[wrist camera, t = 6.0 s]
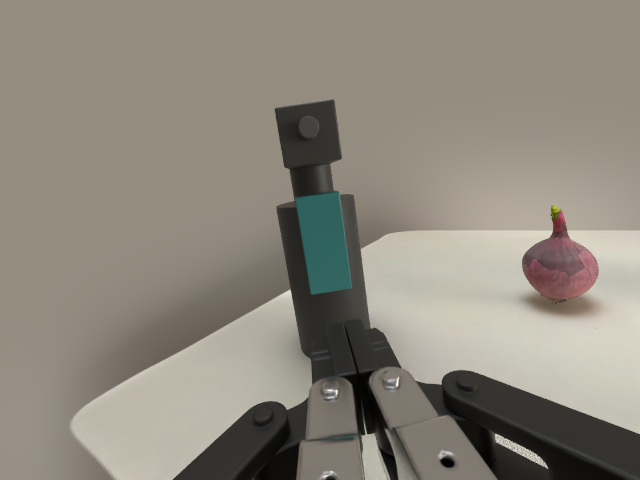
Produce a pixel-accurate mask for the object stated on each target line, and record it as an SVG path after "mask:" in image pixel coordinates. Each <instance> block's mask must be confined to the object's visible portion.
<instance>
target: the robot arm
mask: <svg viewBox="0 0 640 480" xmlns="http://www.w3.org/2000/svg"><path fill="white" fill-rule="evenodd" d="M344 327H345V328H344ZM326 328H327V335H328V336H324V337H318V338H315V339H314V341H313V342H312V344H311V365H312V386H311V388H310V390H309V397H308V398H307V399H306V400H305V401H304V402H302V403H301V404H299V405H297V406H295V407H293V408H291V409H288V410H286V408H285V407H284V406H283V405H282V404H281V403H278V402H273V401H269V402H263V403H260V404H257V405H255V406H254V407H252V408H251V409H249V410H248V411H247V412H246V413H245V414H244V415H243V416H241V417H240V418H239V419H238V420H237V421H236V422H235V423H234V424H233V425H232V426H231V427H229V428H228V429H227V430H226V431H225V432H224V433H223V434H222V435H221V436H220V437H219V438H217V439H216V440H215V441H214V442H213V443H212V444H211V445H210V446H209V447H208V448H207V449H205V450H204V451H203V452H202V453H201V454H200V455H199V456H198V457H197V458H196V459H195V460H193V461H192V462H191V463H190V464H189V465H188V466H187V467H186V468H185V469H184V470H183V471H181V472H180V473H179V474H178V475H177V476H176V477H175V478H174V479H173V480H365V475H364V467H363V459H362V451H363V445H362V437H361V436H362V435H365V428H364V423H365V427H366V431H367V434H372V433H375V436H376V440H377V447H378V454H379V458H380V461H381V463H382V466H383V469H384V472H385V474H386V477H387V480H640V434H638V433H635V432H632V431H630V430H627V429H624V428H622V427H619V426H616V425H614V424H611V423H608V422H606V421H603V420H600V419H598V418H595V417H592V416H590V415H587V414H584V413H582V412H579V411H576V410H574V409H571V408H568V407H566V406H563V405H560V404H558V403H555V402H552V401H550V400H547V399H544V398H542V397H539V396H536V395H534V394H531V393H529V392H526V391H523V390H521V389H518V388H515V387H513V386H510V385H507V384H505V383H502V382H499V381H497V380H494V379H491V378H489V377H486V376H483V375H481V374H478V373H475V372H471V371H465V370H458V371H453V372H450V373H448V374H446V375H445V376H444V377H443V379H442V385H438V384H426V383H420V382H417V381H415V380H414V378H413V377H412V375H411V374H410V373H409V372H408V371H406V370H404V369H402V368H401V366H400V364H399V362H398V360H397V358H396V356H395V354H394V352H393V350H392V349H391V347H390V345H389V343H388V341H387V339H386V337H385V335H384V333H382V332H381V331H379V330H378V329H376V328H373V329H367V330H366V329H365V327H364V324H363V322H362V320H361V318H360V319H354V320H348V321H344V324H343V321H342V322H336V323H330V324H326ZM363 419H364V421H363ZM495 433H496V434H498V435H500V436H502V437H504V438H506V439H508V440H510V441H512V442H514V443H516V444H518V445H521V446H523V447H525V448H527V449H529V450H531V451H532V452H534V453H536V454H537V455H538V456H540V457H541V458H542V459H543V460H544V462H545V463H546V465H547V466H548V469H547V468H545V467H543V466H541V465H539V464H537V463H535V462H533V461H531V460H529V459H527V458H525V457H523V456H521V455H520V454H518V453H516V452H514V451H512V450H510V449H508V448H506V447H504V446H502V445H500V444H498V443H496V442H495Z"/></svg>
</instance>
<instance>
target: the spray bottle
mask: <svg viewBox="0 0 640 480" xmlns="http://www.w3.org/2000/svg"><path fill="white" fill-rule="evenodd" d="M275 113H276V120H277V126H278V132H279V138H280V144H281V150H282V155H283V162H284V167H285V168H288V169H290V176H291V182H292V188H293V193H294V200H295V198H296V197H297V196H304V195H310V194H317V193H323V192H330V191H334V189H333V182H332V175H331V167H330V163H332V162H335V161H338V160H340V159H342V155H341V148H340V139H339V132H338V124H337V116H336V109H335V101H334V100H326V101H319V102H312V103H305V104H299V105H292V106H285V107H278V108H275ZM340 201H341V209H342V216H343V224H344V231H345V239H346V246H347V254H348V261H349V269H350V276H351V284H352V288H350V289H344V290H338V291H332V292H326V293H319V294H313V295H311V292H310V286H309V280H308V274H307V268H306V262H305V256H304V249H303V243H302V237H301V231H300V225H299V219H298V213H297V207H296V201H293V202H289V203H285V204H281V205H279V206H277V214H278V220H279V225H280V231H281V237H282V242H283V248H284V253H285V259H286V265H287V270H288V276H289V282H290V287H291V293H292V299H293V304H294V310H295V316H296V321H297V327H298V332H299V338H300V344H301V349H302V351H303V352H304V354H305V355H307V356H308V357H310V358H311V344H312V342H313V341H314V339H315V338H318V337H324V336H328V335H327V328H326V324H330V323H336V322H342V321H343V324H344V321H348V320H354V319H360V318H361V320H362V322H363V324H364V327H365V329H366V330H367V329H370V322H369V314H368V306H367V298H366V290H365V282H364V274H363V266H362V258H361V250H360V243H359V234H358V226H357V218H356V210H355V202H354V196H353V195H350V194H349V195H348V194H344V195H340ZM344 328H345V327H344Z"/></svg>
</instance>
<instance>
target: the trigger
mask: <svg viewBox="0 0 640 480" xmlns="http://www.w3.org/2000/svg"><path fill="white" fill-rule="evenodd" d="M295 201H296V207H297V213H298V219H299V225H300V231H301V237H302V243H303V249H304V256H305V262H306V268H307V274H308V280H309V286H310V292H311V295H313V294H319V293H326V292H332V291H338V290H344V289H350V288H352V284H351V276H350V269H349V261H348V254H347V246H346V239H345V231H344V224H343V216H342V209H341V201H340V194H339V192H338V191H330V192H323V193H317V194H310V195H304V196H297V197H296V198H295Z"/></svg>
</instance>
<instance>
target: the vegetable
mask: <svg viewBox="0 0 640 480" xmlns="http://www.w3.org/2000/svg"><path fill="white" fill-rule="evenodd" d="M551 216H552V221H553V233H552V235H551V237H550V238H549V239H546V240H543V241H541V242H539V243H537V244H535V245H534V246H532V247H531V248H530V249H529V250H528V251H527V252H526V253H525V255H524V256H523V259H522V267H523V271H524V274H525V276H526V278H527V280H528V281H529V283H530V284H531V285H532V286H533V287H534V288H535V289H536V290H537V291H538V292H539V293H541V295H542V296H544V297H545V298H547V299H548V300H551V301H553V302H554V301H557V302H559V303H560V302H562V301H566V299H567V298H572V297H576V296H579V295H582V294H584V293H585V292H587V291H588V290H589V289H590V288H591V287H592V286H593V285H594V283H595V281H596V279H597V277H598V271H599V269H598V263H597V261H596V259H595V257H594V256H593V254H592V253H591V252H590V251H589V250H588V249H586V248H585V247H584V246H582V245H580V244H578V243H576V242H574V241H572V240H571V239H570V238H569V236H568V233H567V227H566V222H565V219H564V216H563V213H562V210H558V209H557V207H556V206H552V207H551ZM553 302H552V303H553ZM557 302H556V303H557ZM556 303H555V304H556Z"/></svg>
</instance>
